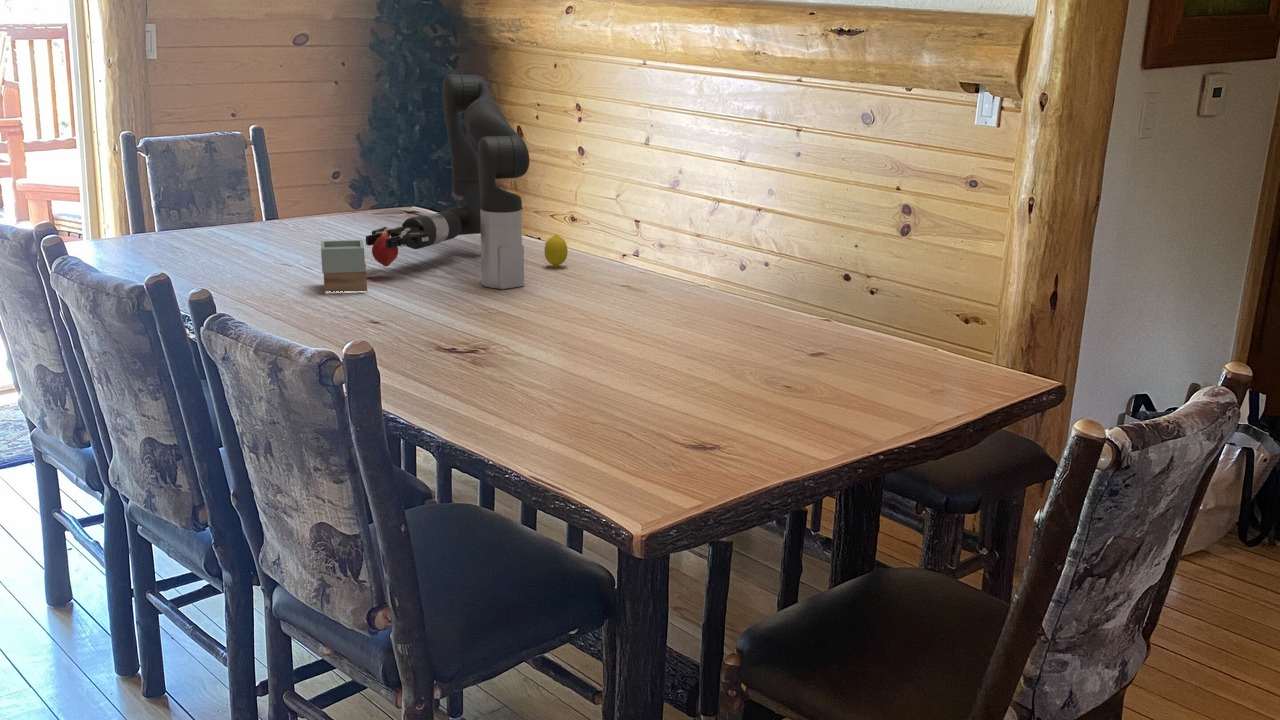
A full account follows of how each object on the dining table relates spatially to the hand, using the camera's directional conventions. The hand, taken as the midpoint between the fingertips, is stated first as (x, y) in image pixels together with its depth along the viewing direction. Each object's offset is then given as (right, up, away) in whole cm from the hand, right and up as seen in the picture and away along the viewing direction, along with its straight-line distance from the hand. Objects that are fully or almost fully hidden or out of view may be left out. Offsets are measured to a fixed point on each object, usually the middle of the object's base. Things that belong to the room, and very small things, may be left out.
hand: (377, 242), depth 263 cm
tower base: (-6, -11, -6) cm, 14 cm away
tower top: (-6, -6, -8) cm, 11 cm away
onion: (+1, -5, +4) cm, 7 cm away
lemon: (+39, -4, +19) cm, 44 cm away
